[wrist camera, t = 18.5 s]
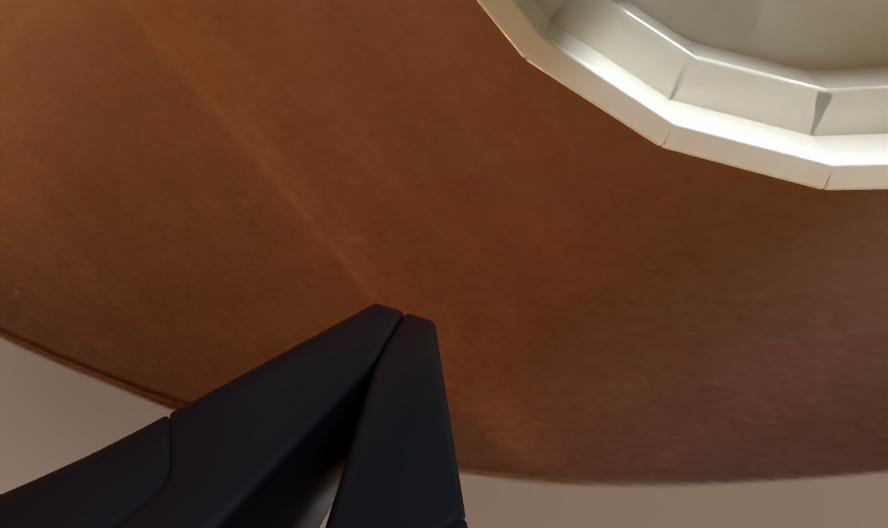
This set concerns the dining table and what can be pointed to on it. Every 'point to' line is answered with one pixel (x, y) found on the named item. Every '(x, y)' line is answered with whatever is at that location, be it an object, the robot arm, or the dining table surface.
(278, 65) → the dining table surface
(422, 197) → the dining table surface
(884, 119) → the bowl
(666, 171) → the dining table surface
